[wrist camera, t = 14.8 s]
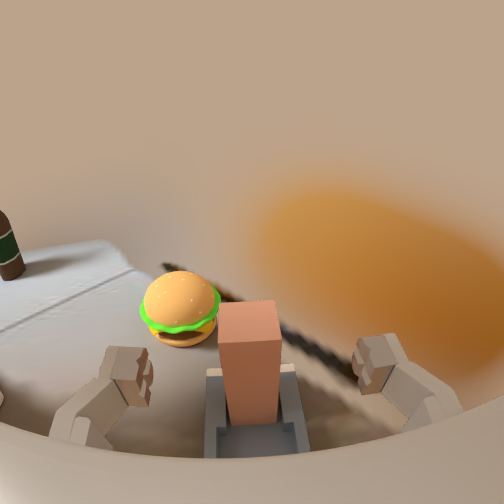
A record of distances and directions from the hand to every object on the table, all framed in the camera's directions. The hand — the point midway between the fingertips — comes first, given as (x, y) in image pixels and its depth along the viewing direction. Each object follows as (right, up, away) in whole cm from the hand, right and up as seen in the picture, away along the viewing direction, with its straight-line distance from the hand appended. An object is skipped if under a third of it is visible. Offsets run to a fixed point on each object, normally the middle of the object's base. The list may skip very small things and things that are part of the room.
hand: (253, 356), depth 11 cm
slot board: (0, -17, +18) cm, 25 cm away
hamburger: (-10, -8, +35) cm, 38 cm away
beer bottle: (-58, -1, +48) cm, 76 cm away
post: (0, -14, +22) cm, 26 cm away
